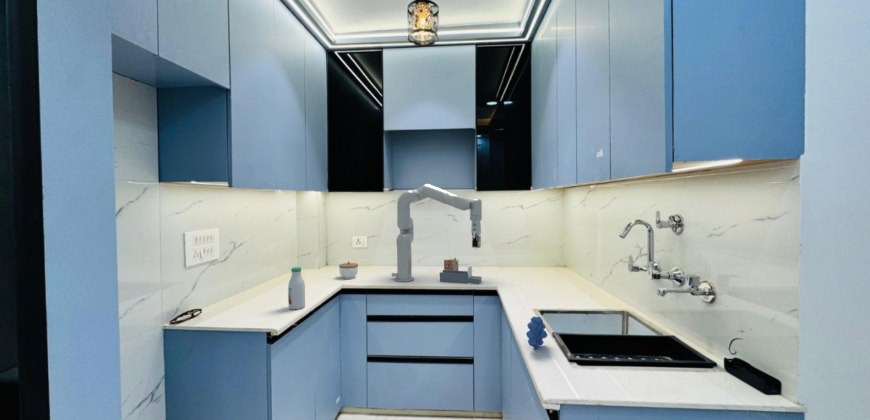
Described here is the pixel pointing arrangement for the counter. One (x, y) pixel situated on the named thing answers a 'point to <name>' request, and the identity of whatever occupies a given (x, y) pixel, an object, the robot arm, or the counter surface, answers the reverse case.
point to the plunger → (469, 272)
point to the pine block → (478, 242)
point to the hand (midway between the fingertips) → (475, 245)
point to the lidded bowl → (348, 270)
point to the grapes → (536, 332)
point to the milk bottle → (296, 290)
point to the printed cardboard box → (451, 263)
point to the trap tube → (458, 277)
